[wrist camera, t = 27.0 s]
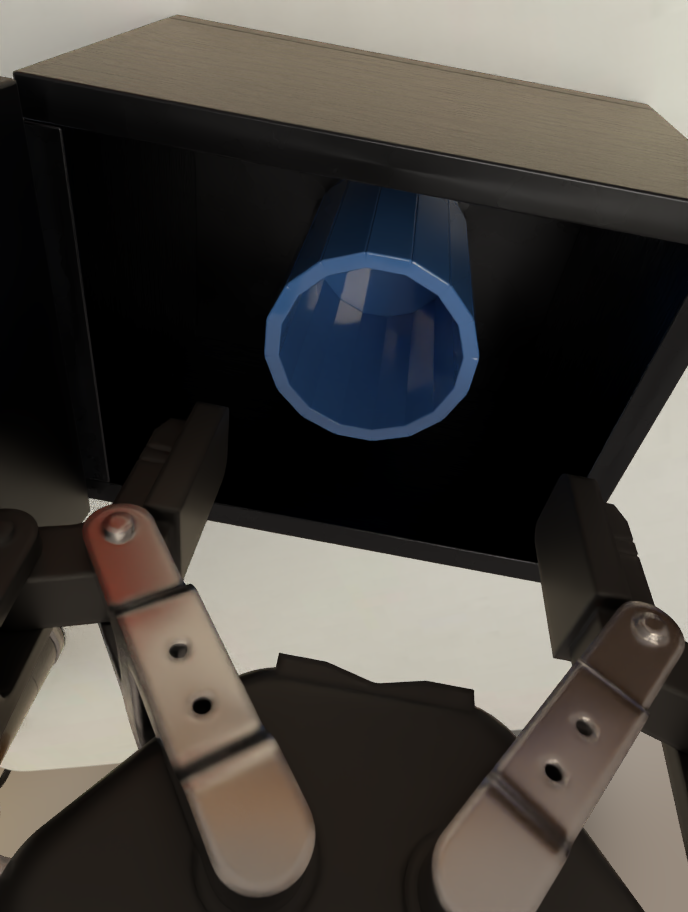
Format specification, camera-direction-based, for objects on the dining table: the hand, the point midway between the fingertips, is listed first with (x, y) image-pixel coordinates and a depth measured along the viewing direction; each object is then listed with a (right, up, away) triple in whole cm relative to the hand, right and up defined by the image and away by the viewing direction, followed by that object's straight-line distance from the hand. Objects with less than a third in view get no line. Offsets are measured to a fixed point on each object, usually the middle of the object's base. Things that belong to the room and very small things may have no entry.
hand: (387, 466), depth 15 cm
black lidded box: (0, +9, +9) cm, 13 cm away
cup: (+1, +8, +9) cm, 12 cm away
